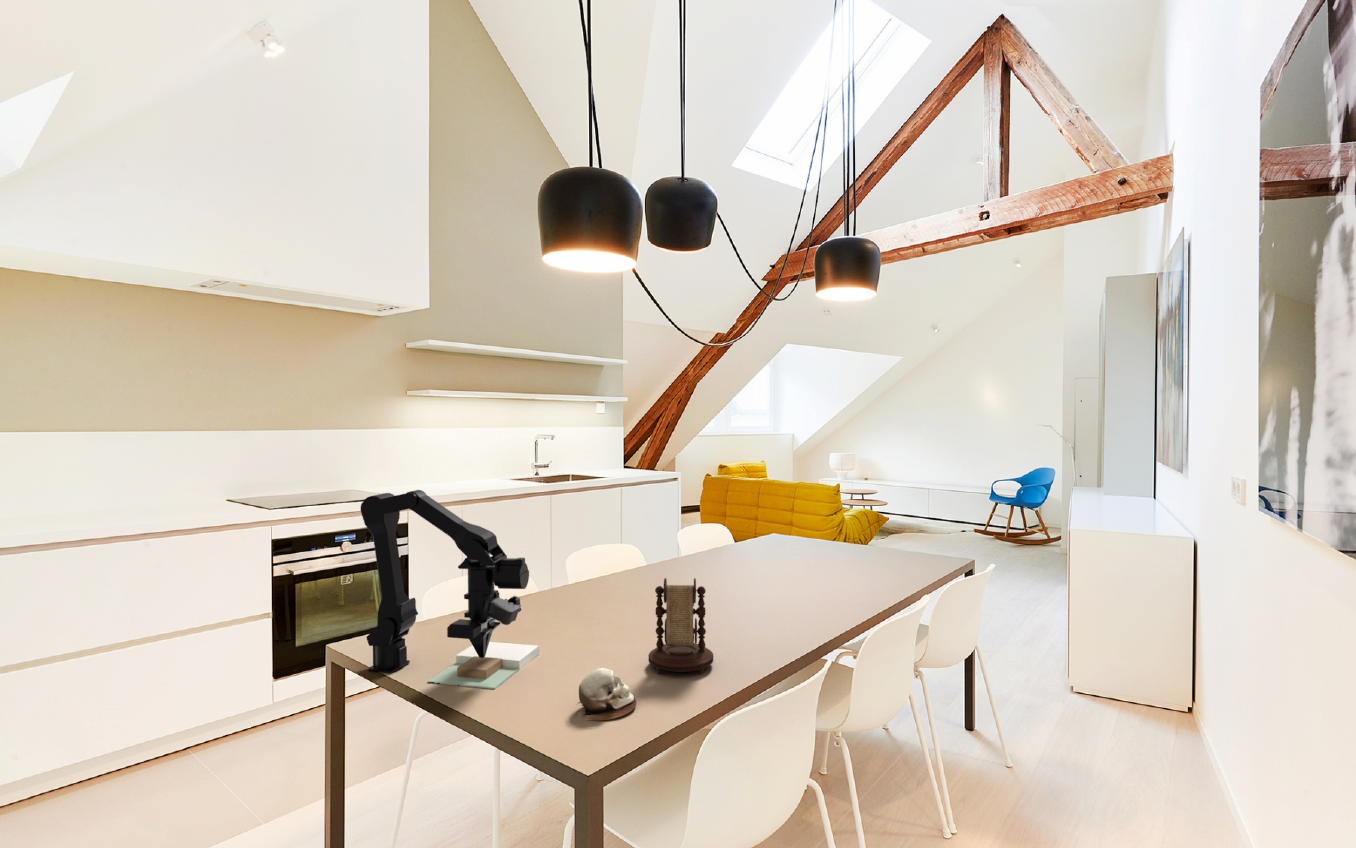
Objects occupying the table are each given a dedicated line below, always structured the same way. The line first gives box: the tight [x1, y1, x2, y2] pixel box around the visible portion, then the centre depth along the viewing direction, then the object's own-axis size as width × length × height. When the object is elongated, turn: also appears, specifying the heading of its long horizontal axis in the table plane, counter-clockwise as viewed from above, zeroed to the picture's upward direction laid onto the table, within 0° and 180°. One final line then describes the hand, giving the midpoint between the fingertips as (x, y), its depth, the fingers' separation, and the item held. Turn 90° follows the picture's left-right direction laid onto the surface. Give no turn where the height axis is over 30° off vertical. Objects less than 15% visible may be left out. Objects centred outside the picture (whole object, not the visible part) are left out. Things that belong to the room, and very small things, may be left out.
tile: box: [457, 656, 502, 679], centre depth 147 cm, size 7×7×2 cm
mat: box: [427, 662, 520, 690], centre depth 145 cm, size 16×11×1 cm
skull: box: [577, 667, 637, 721], centre depth 129 cm, size 12×10×10 cm
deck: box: [455, 641, 540, 671], centre depth 156 cm, size 16×10×2 cm, turn 76°
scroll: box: [648, 577, 714, 675], centre depth 150 cm, size 15×15×20 cm
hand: (482, 657), depth 149 cm, fingers closed
